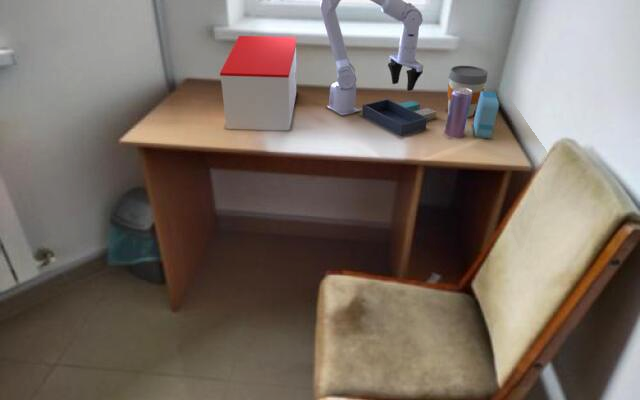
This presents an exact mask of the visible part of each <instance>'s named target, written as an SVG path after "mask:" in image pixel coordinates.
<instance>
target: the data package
mask: <svg viewBox="0 0 640 400" xmlns="http://www.w3.org/2000/svg"><path fill="white" fill-rule="evenodd" d="M499 107H500V102H499V99H498V95H497V92H494V91H485V90H483V91H481V93H480V97H479V101H478V103H477V106H476V109H475V113H474V114H475V115H474V119H473V130H474V134H475V137H476V138H481V139H491V138H492V135H493V130H494V127H495V124H496V119H497V117H498V116H497V115H498V112H499V109H500V108H499Z"/></svg>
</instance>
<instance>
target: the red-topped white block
mask: <svg viewBox="0 0 640 400" xmlns="http://www.w3.org/2000/svg"><path fill="white" fill-rule="evenodd" d="M219 77H220V83H221V91H222V92H221V93H222V101H223V103H222V104H223V111H224V121H225V129H227V130H257V131H258V130H259V131H260V130H261V131H263V130H264V131H290V129H291V124H292V120H293V114H294V109H295V103H296V97H297V37H296V36H263V35H261V36H260V35H257V36H256V35H238V36H237V39H236V41H235V43H234V45H233V47H232V48H231V51H230V53H229V54H228V56H227V58H226V60H225V62H224V64H223V66H222V68H221V70H220V72H219Z"/></svg>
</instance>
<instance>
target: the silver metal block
mask: <svg viewBox="0 0 640 400" xmlns="http://www.w3.org/2000/svg"><path fill="white" fill-rule="evenodd" d="M414 112H416V113H418V114H420V115H422V116H425V117H427V118H428V119H427V121H429V120H434V119H436V117H437V111H436V110H434V109H432V108H430V107H425V108H422V109H421V108H420V109H419V110H417V111H414Z"/></svg>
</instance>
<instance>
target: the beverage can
mask: <svg viewBox="0 0 640 400" xmlns="http://www.w3.org/2000/svg"><path fill="white" fill-rule="evenodd" d="M471 98H472V90H471V89H468V88H464V87H457V88H454V89H453V92H452V96H451V101H450V106H449V111H448V110H447V117H446V123H445V128H444V134H445V136H447V137H449V138H454V139H459V138H463V136H464V135H465V130H466V127H467V126H466V125H467V120H468V118H469V117H468V112H469V107H470V103H471Z"/></svg>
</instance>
